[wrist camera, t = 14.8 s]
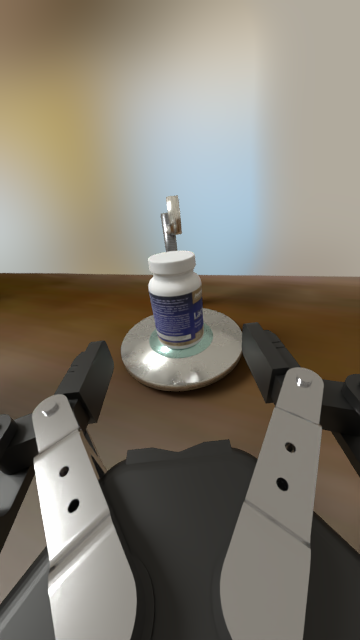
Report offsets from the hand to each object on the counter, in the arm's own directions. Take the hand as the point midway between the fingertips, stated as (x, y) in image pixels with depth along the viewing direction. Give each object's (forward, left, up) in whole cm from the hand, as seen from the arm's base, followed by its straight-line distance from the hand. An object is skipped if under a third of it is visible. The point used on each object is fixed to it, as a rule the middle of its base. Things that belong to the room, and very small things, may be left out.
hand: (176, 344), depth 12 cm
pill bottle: (0, +11, -8) cm, 13 cm away
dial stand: (0, +21, -10) cm, 24 cm away
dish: (0, +11, -10) cm, 15 cm away
